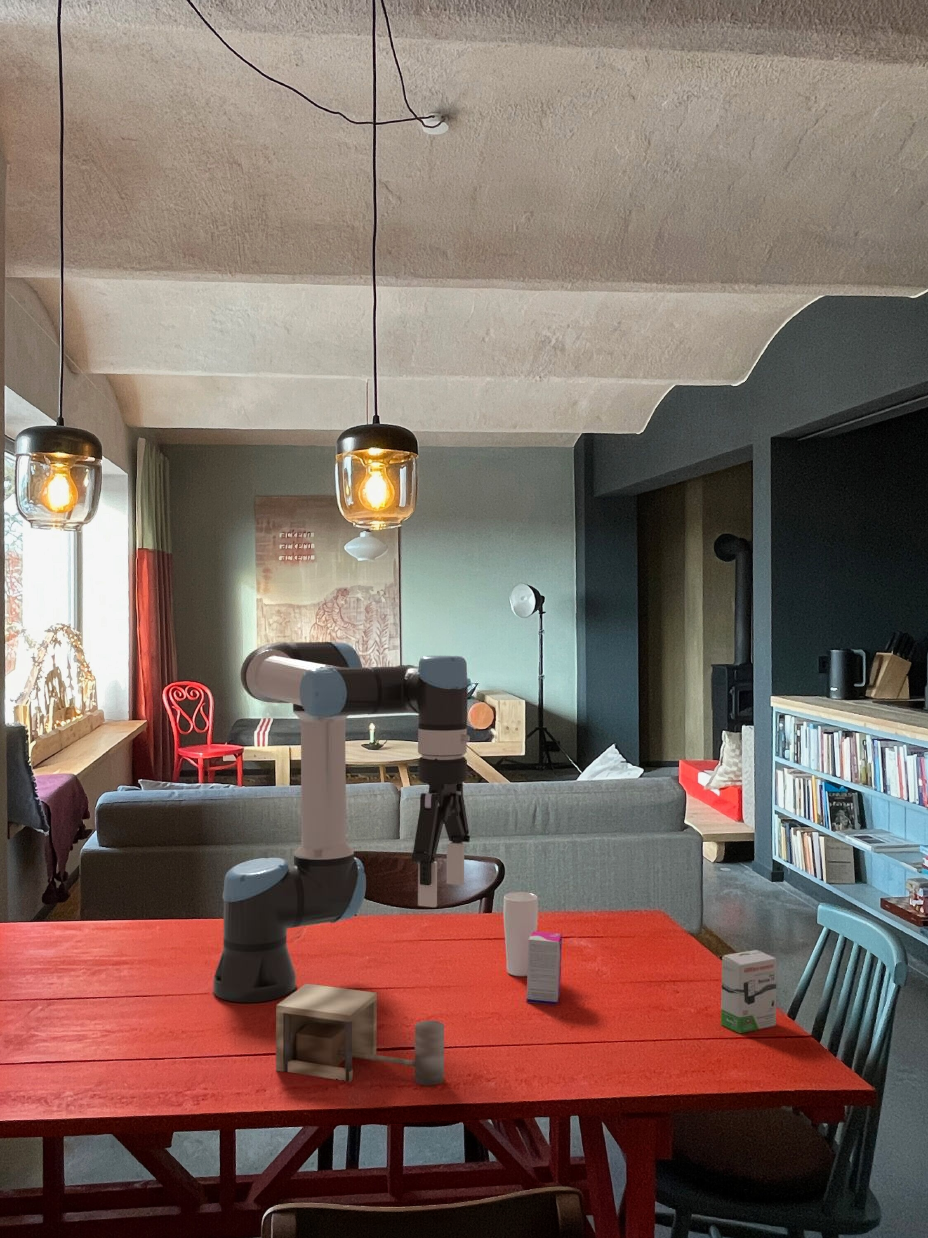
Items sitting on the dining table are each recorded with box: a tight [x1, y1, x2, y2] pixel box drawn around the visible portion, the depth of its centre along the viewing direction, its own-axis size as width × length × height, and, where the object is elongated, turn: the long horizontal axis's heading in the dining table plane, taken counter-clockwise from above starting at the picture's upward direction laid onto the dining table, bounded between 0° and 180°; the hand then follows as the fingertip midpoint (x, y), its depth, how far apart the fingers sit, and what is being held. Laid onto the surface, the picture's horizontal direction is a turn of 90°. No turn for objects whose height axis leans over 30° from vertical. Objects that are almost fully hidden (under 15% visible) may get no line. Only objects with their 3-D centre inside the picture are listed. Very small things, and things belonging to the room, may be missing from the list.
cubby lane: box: [275, 983, 378, 1083], centre depth 162 cm, size 12×10×10 cm
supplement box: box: [526, 931, 563, 1006], centre depth 190 cm, size 6×6×12 cm
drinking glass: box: [502, 891, 539, 977], centre depth 204 cm, size 7×7×15 cm
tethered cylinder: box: [296, 1019, 445, 1087], centre depth 159 cm, size 23×5×8 cm, turn 72°
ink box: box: [720, 949, 778, 1034], centre depth 178 cm, size 9×5×12 cm, turn 118°
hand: (441, 894), depth 159 cm, fingers open, 13 cm apart
